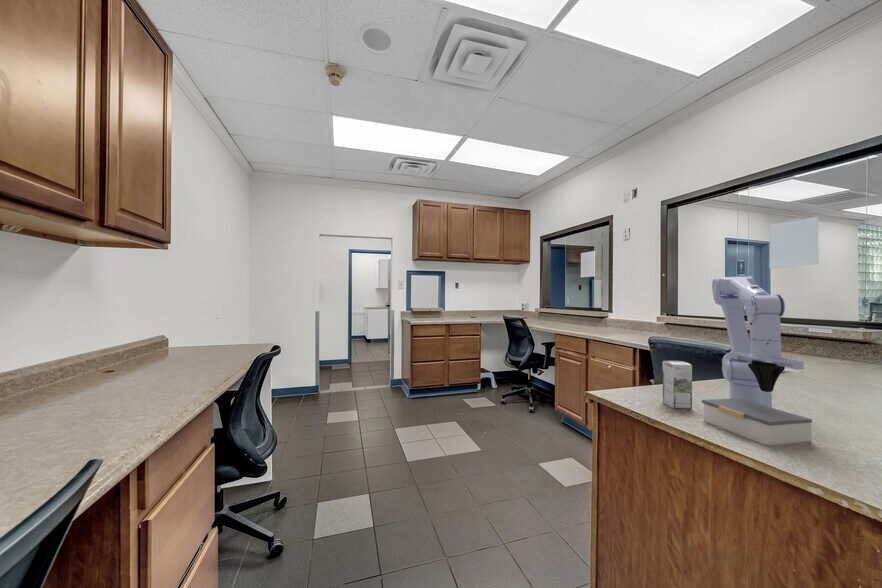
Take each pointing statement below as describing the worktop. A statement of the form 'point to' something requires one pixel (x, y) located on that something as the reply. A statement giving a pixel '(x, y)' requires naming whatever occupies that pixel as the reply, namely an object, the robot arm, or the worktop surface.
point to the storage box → (760, 429)
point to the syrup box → (677, 384)
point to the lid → (755, 411)
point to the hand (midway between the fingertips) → (766, 391)
